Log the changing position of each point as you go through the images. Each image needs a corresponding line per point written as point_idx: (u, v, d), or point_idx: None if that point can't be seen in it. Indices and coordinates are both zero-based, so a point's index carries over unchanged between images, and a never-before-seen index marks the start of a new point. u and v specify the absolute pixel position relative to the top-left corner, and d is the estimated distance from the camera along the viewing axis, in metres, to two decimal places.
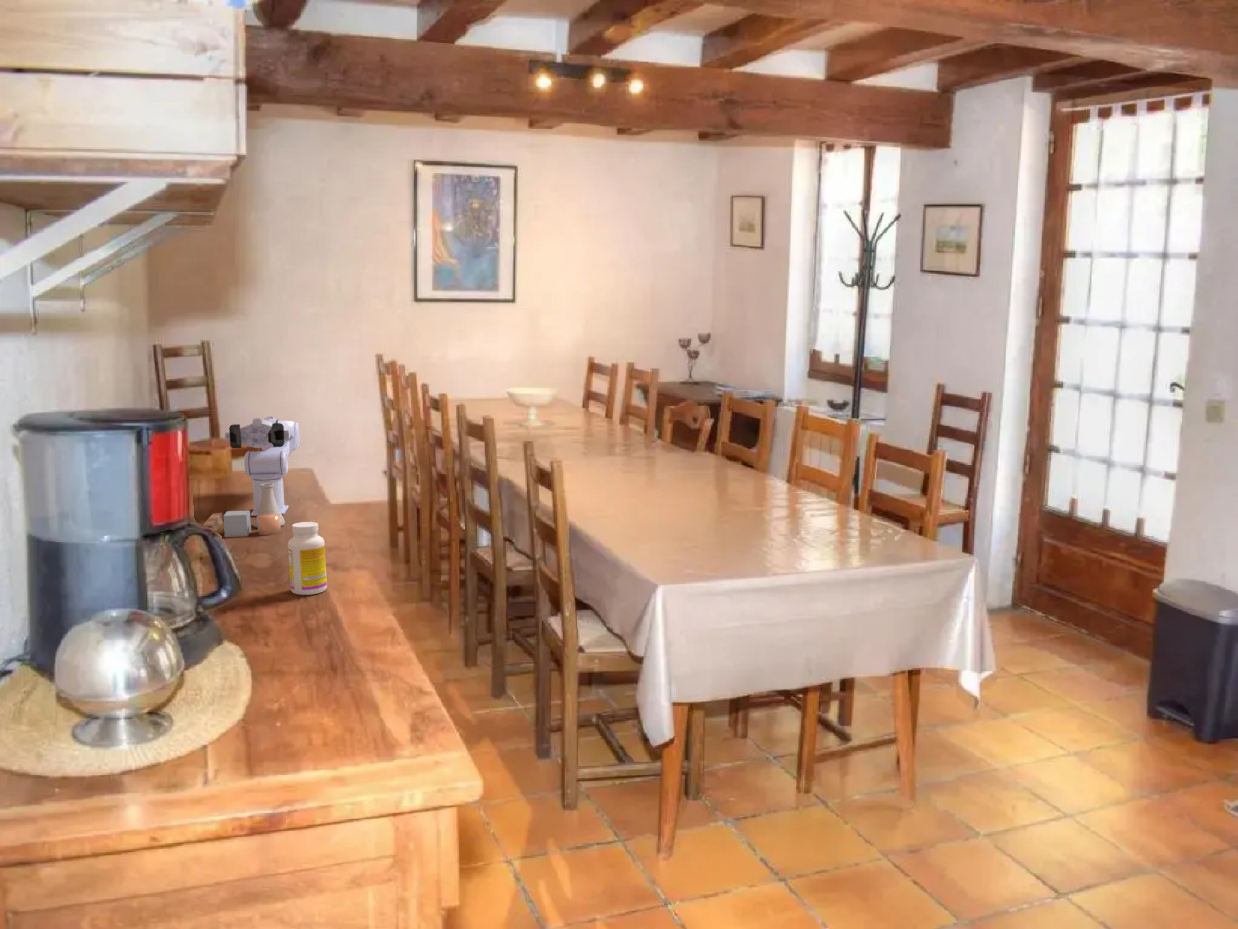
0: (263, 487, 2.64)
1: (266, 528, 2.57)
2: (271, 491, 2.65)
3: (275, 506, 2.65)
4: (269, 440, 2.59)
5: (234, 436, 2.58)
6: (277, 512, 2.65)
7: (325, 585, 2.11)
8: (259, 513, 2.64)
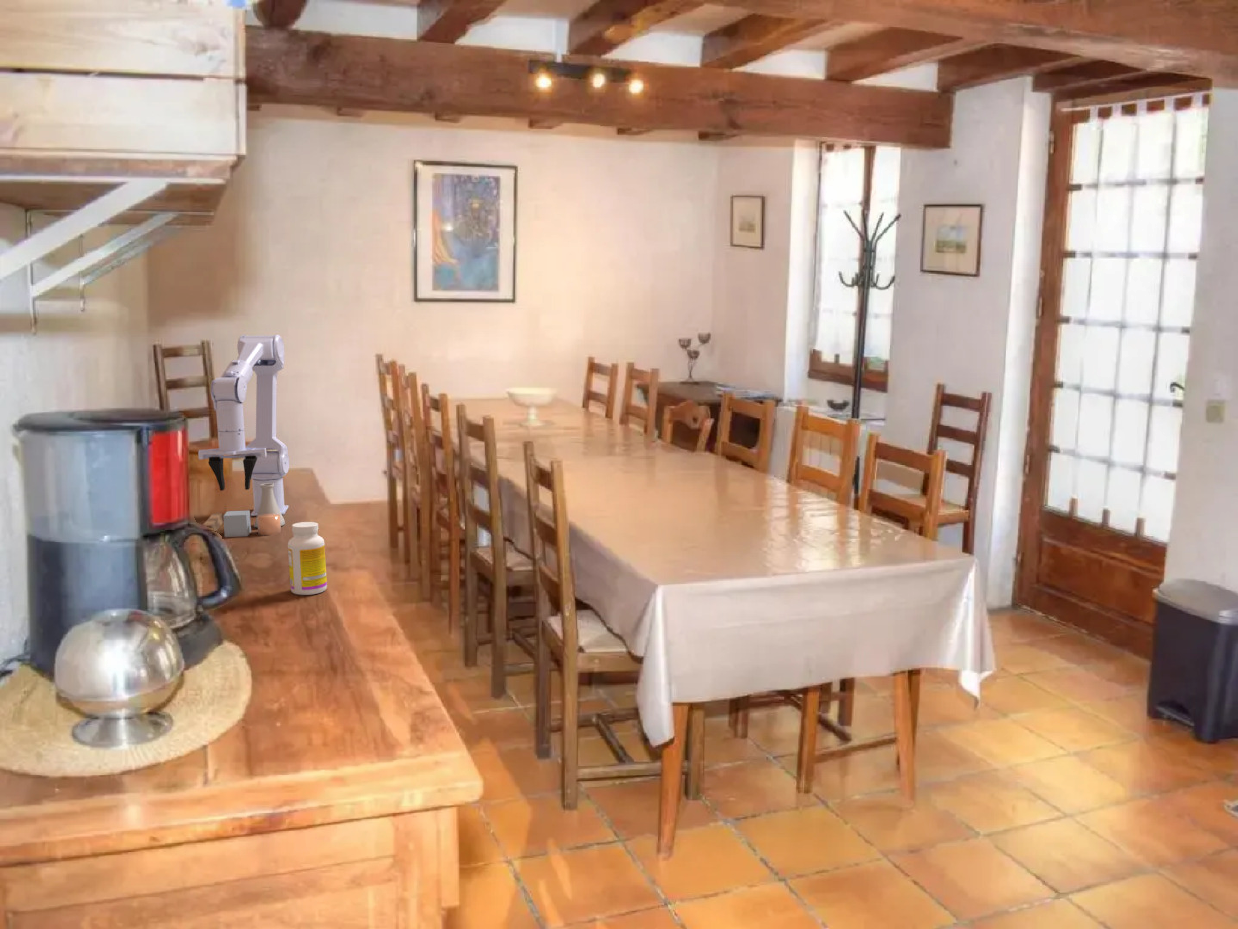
0: (263, 487, 2.64)
1: (266, 528, 2.57)
2: (271, 491, 2.65)
3: (275, 506, 2.65)
4: None
5: None
6: (277, 512, 2.65)
7: (325, 585, 2.11)
8: (259, 513, 2.64)
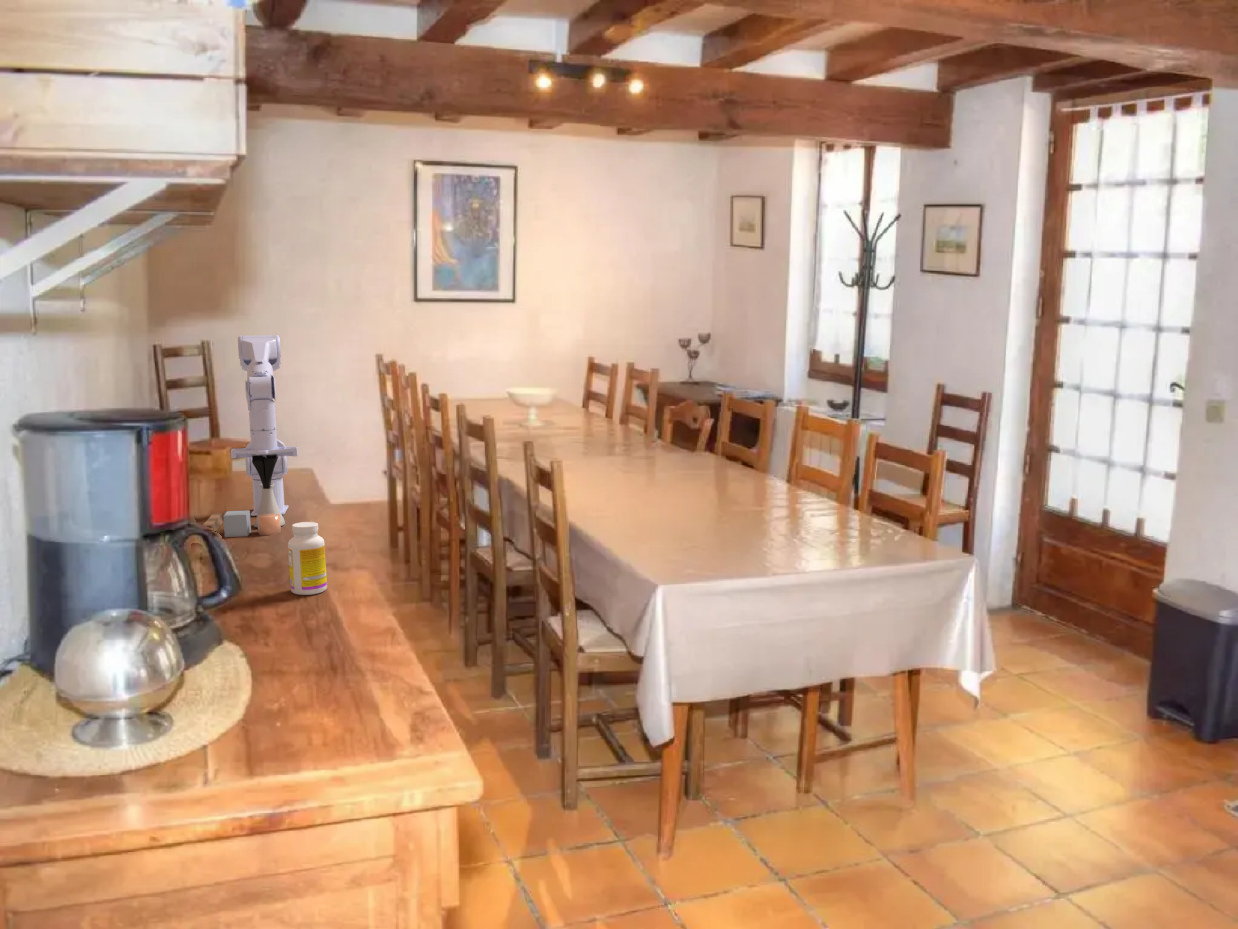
0: None
1: (266, 528, 2.57)
2: (271, 491, 2.65)
3: (275, 506, 2.65)
4: None
5: None
6: (277, 512, 2.65)
7: (325, 585, 2.11)
8: (259, 513, 2.64)
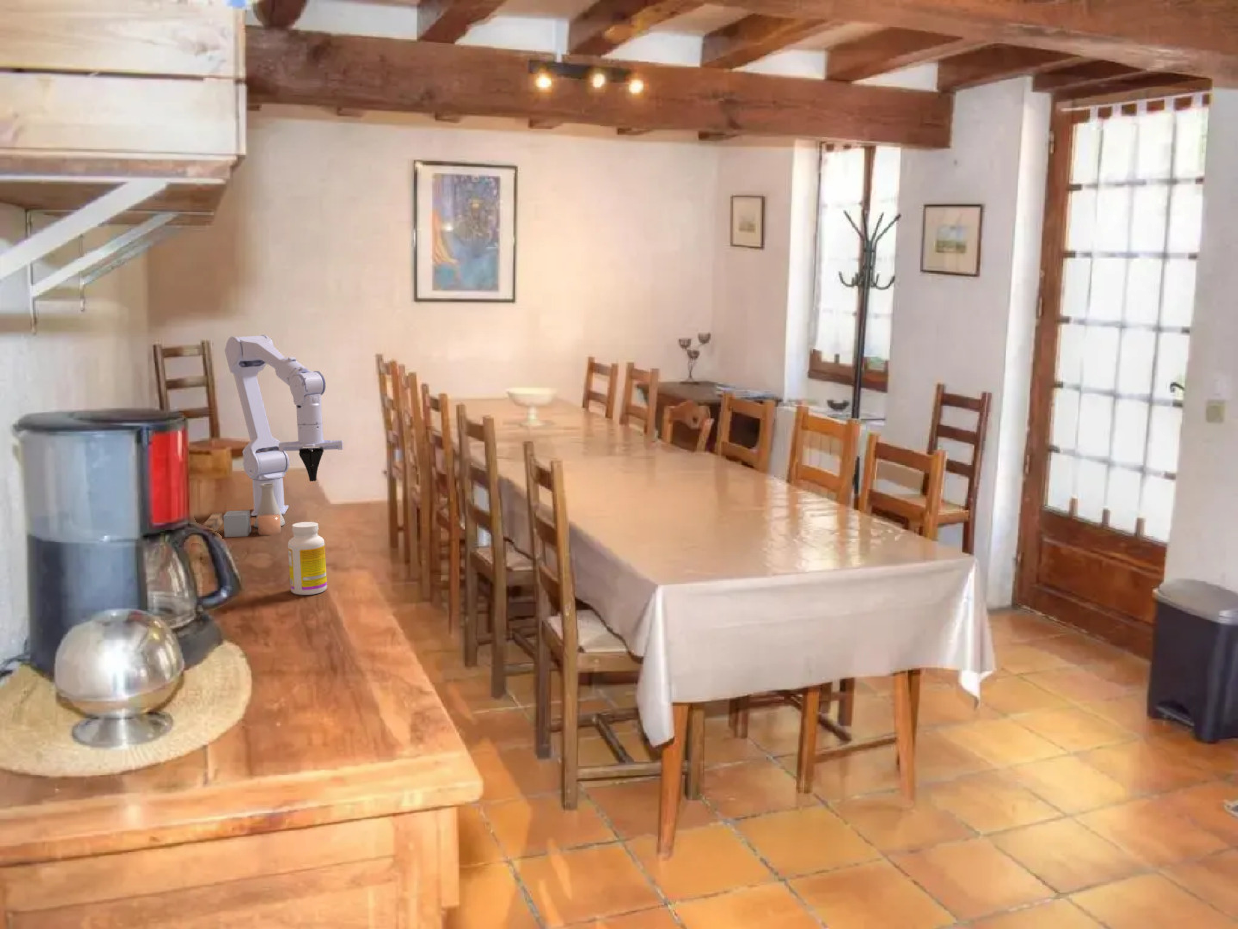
0: (263, 487, 2.64)
1: (266, 528, 2.57)
2: (271, 491, 2.65)
3: (275, 506, 2.65)
4: None
5: None
6: (277, 512, 2.65)
7: (325, 585, 2.11)
8: (259, 513, 2.64)
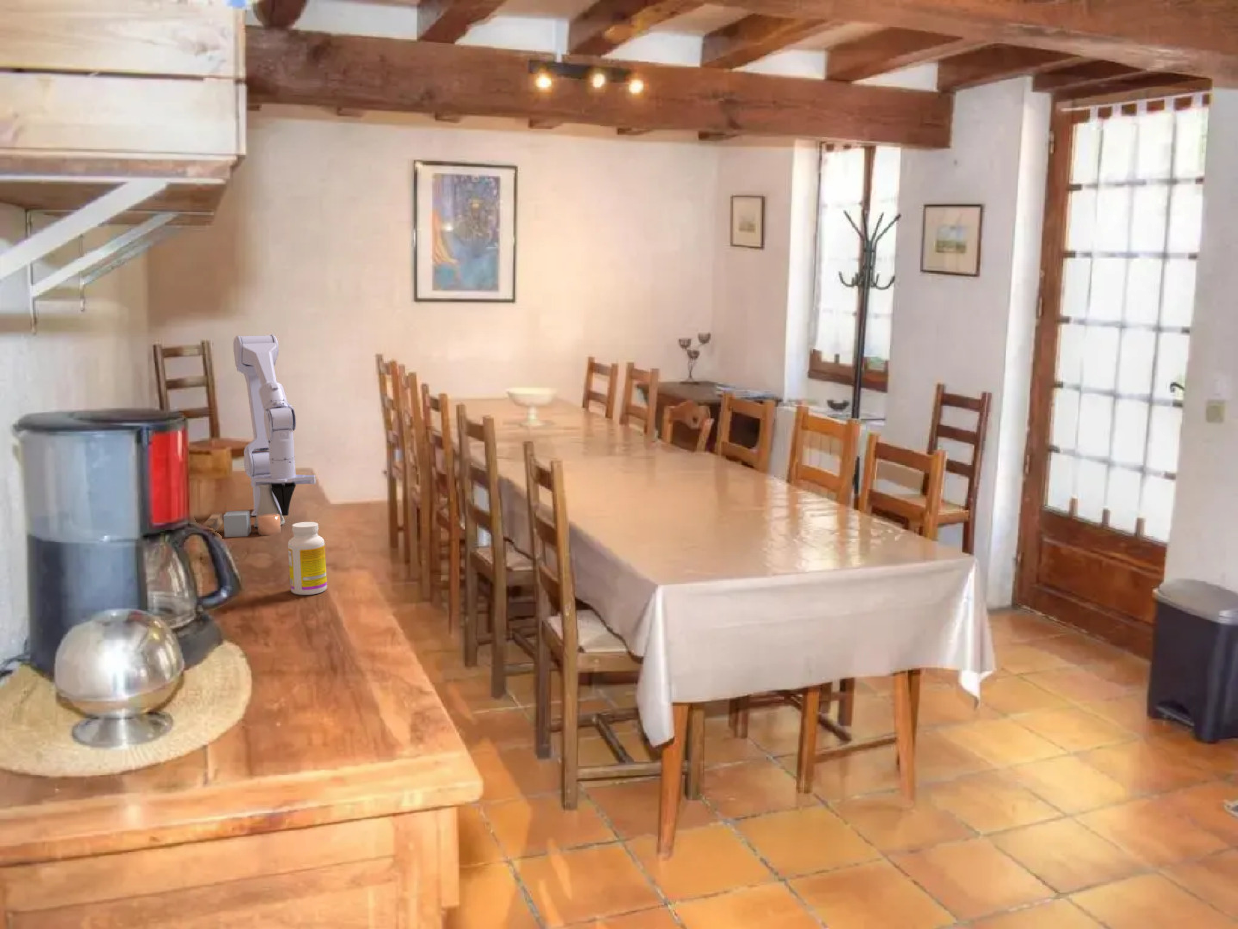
0: (261, 486, 2.64)
1: (266, 528, 2.57)
2: (269, 490, 2.65)
3: (274, 505, 2.65)
4: None
5: None
6: (276, 511, 2.65)
7: (325, 585, 2.11)
8: (258, 513, 2.64)
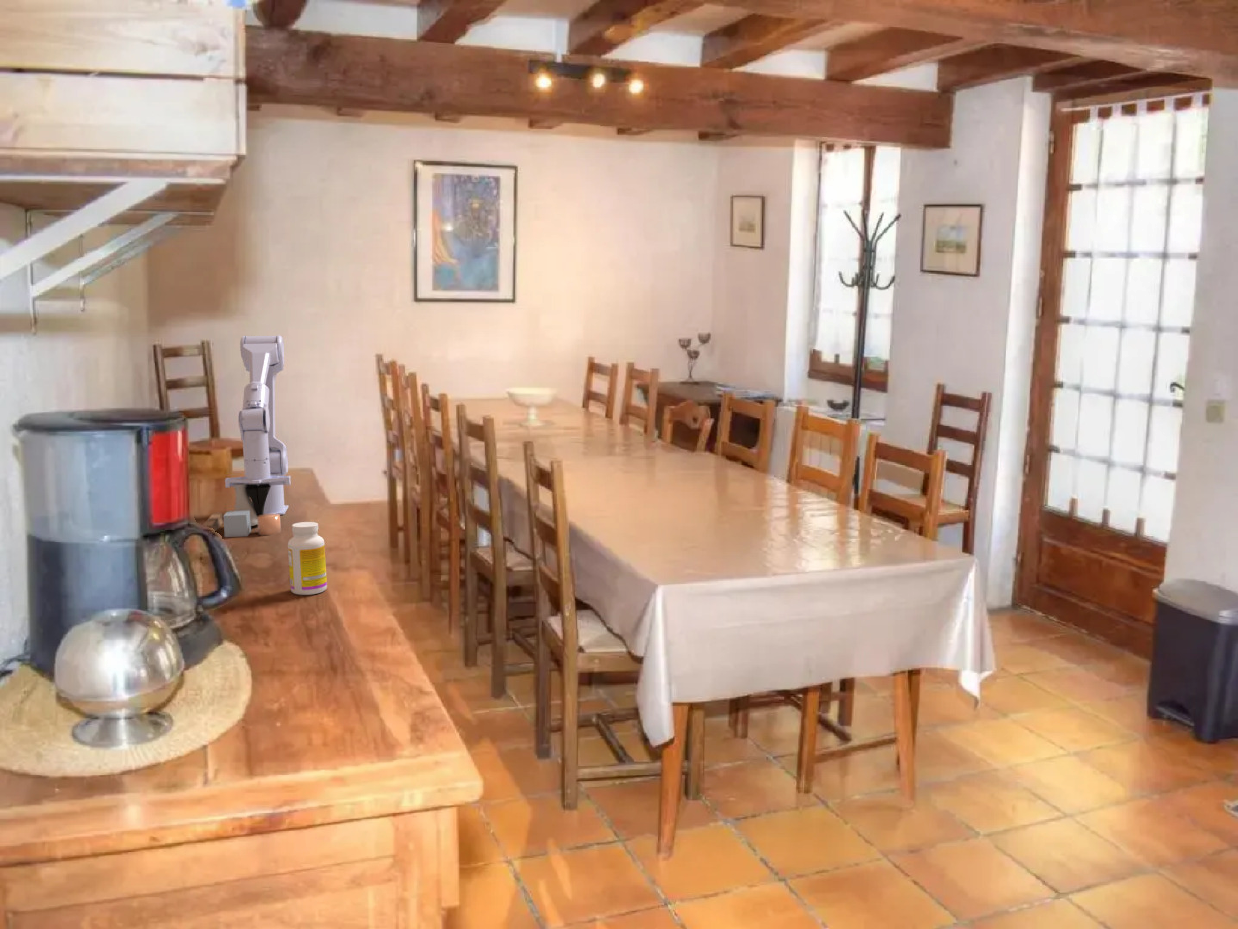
0: (236, 487, 2.63)
1: (266, 528, 2.57)
2: (245, 490, 2.64)
3: (250, 505, 2.64)
4: None
5: None
6: (253, 510, 2.64)
7: (325, 585, 2.11)
8: None
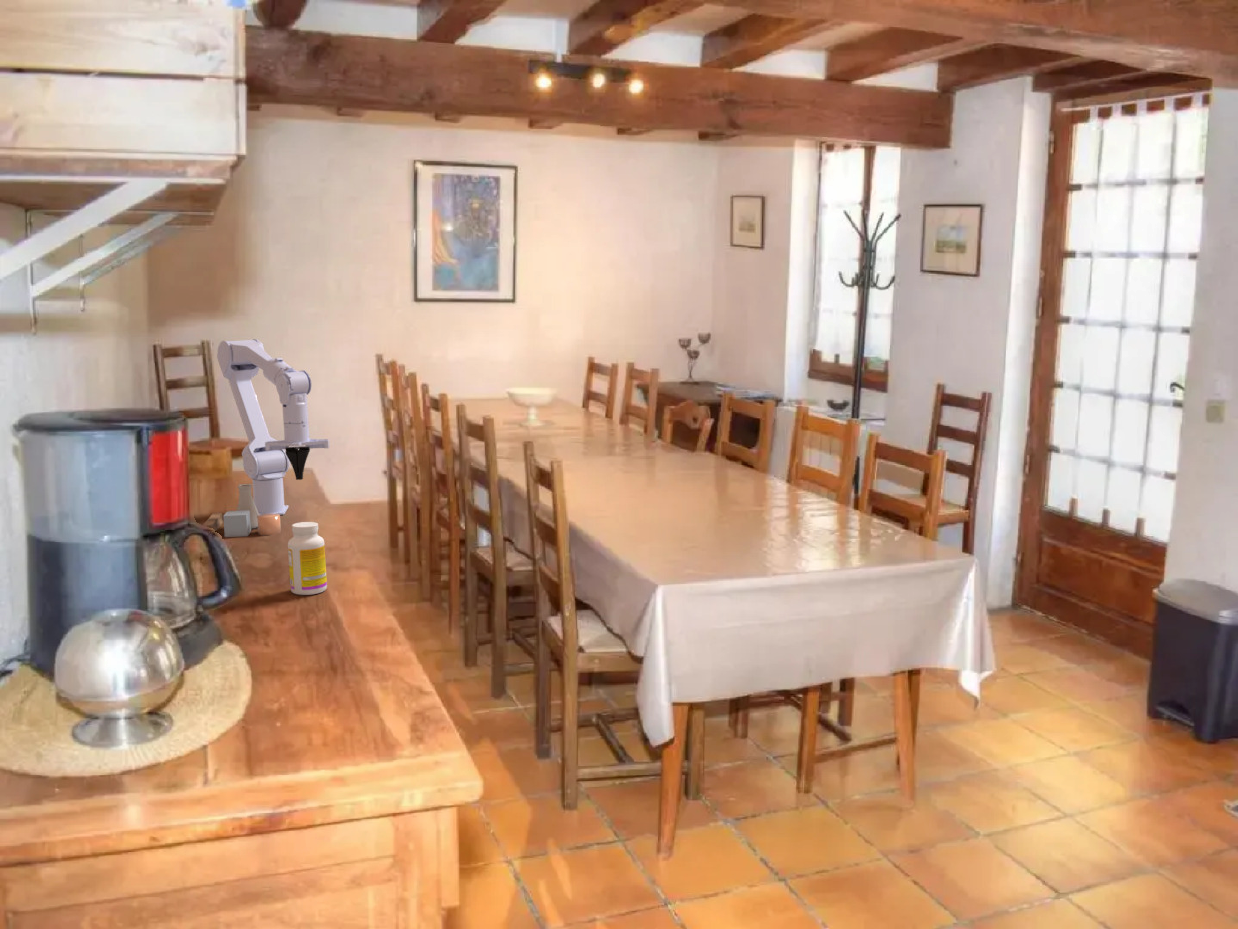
0: (241, 488, 2.63)
1: (266, 528, 2.57)
2: (249, 492, 2.64)
3: (253, 507, 2.64)
4: None
5: None
6: (255, 513, 2.64)
7: (325, 585, 2.11)
8: None
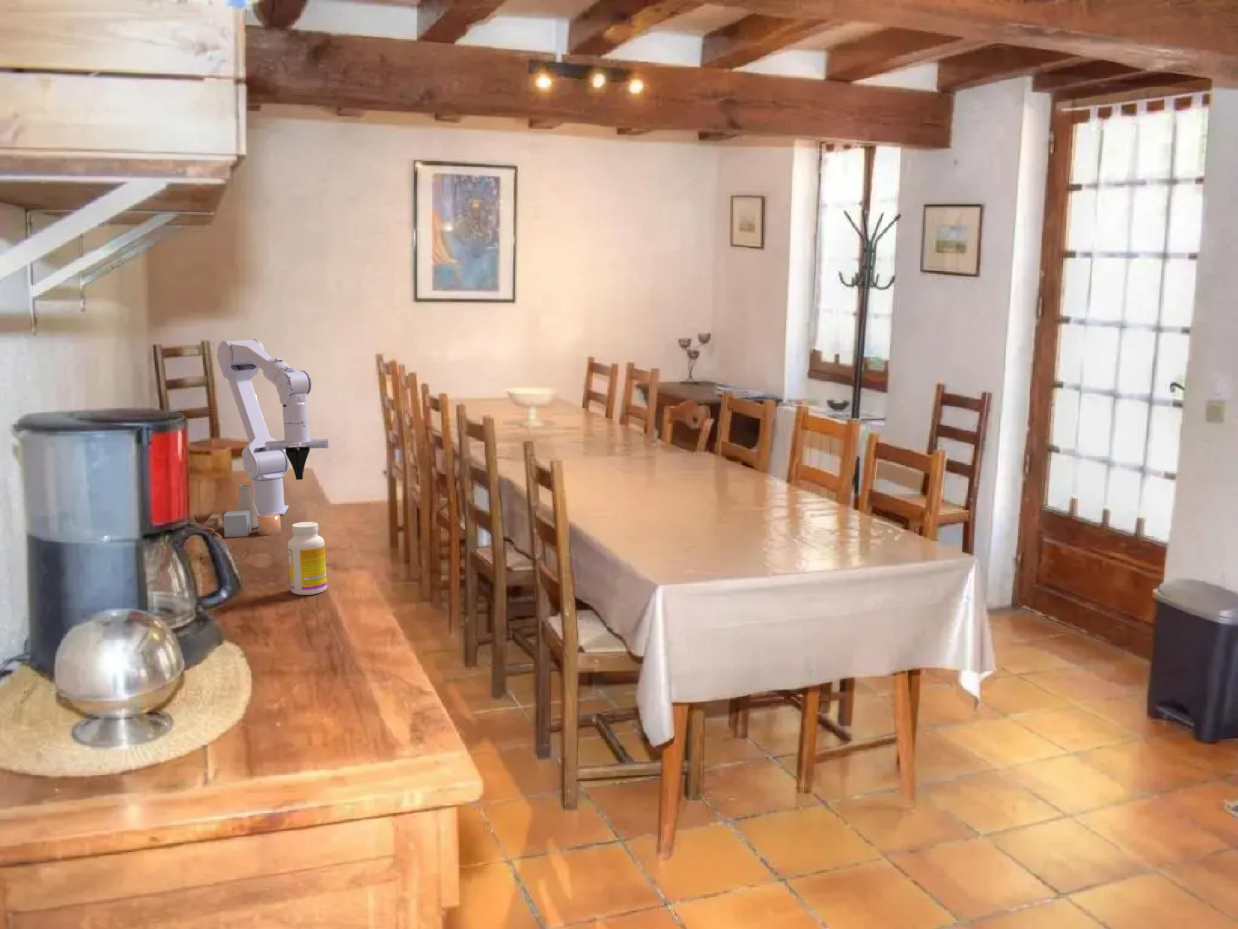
0: (240, 488, 2.63)
1: (266, 528, 2.57)
2: (249, 492, 2.64)
3: (253, 507, 2.64)
4: None
5: None
6: (255, 513, 2.64)
7: (325, 585, 2.11)
8: None
